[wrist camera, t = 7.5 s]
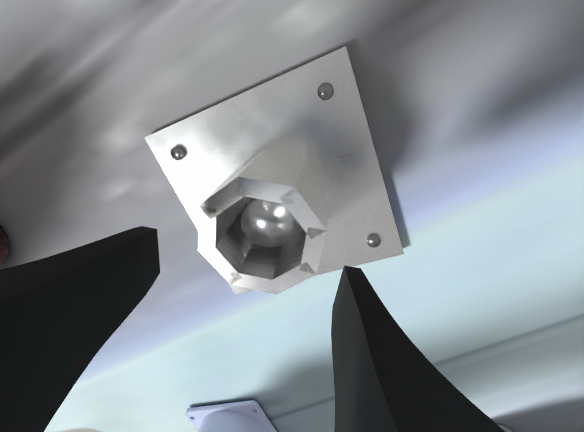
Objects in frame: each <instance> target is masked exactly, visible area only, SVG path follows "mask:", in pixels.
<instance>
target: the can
mask: <svg viewBox="0 0 584 432" xmlns="http://www.w3.org/2000/svg"><path fill="white" fill-rule="evenodd" d="M8 252H9V241H8V239H7V237H6V234H5V232H4V231H3V229H2V228H1V226H0V266H1V265H2V264H3V263H4V261H5V259H6V257H7V255H8Z"/></svg>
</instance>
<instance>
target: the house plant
mask: <svg viewBox="0 0 584 432" xmlns="http://www.w3.org/2000/svg"><path fill="white" fill-rule="evenodd" d="M497 425H498V426H499V427H501V428H502V429H503V430H504V431H505V432H512V431H511V430H510V429H509V428H507V427H505V426H503V425H499V424H497Z"/></svg>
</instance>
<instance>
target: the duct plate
mask: <svg viewBox="0 0 584 432" xmlns="http://www.w3.org/2000/svg"><path fill="white" fill-rule="evenodd" d="M144 138H145V139H146V141H147V143H148V145H149V146H150V148H151V150H152V152H153V153H154V155H155V157H156V158H157V160H158V162H159V164H160V165H161V167H162V169H163V171H164V172H165V174H166V176H167V177H168V179H169V181H170V183H171V184H172V186H173V188H174V189H175V191H176V193H177V195H178V196H179V198H180V200H181V202H182V203H183V205H184V207H185V208H186V210H187V212H188V214H189V215H190V217H191V219H192V221H193V222H194V224H195V226H196V227H197V229H198V205H199V204H201V203H202V202H203V201H204V200H205V199H206V198H207V197H208V196H209V195H210V194H211V193H212V192H213V191H214V190H215V189H216V188H217V187H218V186H219V185H220V184H222V183H223V182H224V181H225V180H226V179H227V178H228V177H229V176H230V175H231V174H232V173H233V172H234V171H235V170H237V169H238V168H240V167H241V166H242V165H244V164H245V163H246V162H248V161H249V160H250V159H252V158H253V157H254V156H256V155H257V154H258V153H260V152H261V151H262V150H264V149H267V150H273V151H278V152H284V153H289V154H295V155H300V156H305V157H306V158H307V160H308V161H309V162H310V164H311V165H312V167H313V168H314V170H315V171H316V172H317V174H318V175H319V177H320V178H321V179H322V181H323V182H324V184H325V185H326V187H327V188H328V214H327V232H326V237H325V241H324V245H323V249H322V253H321V258H320V262H319V266H318V270H317V274H316V275H319V274H323V273H327V272H331V271H335V270H340V269H343V268H344V265H345V266H350V267H352V266H356V265H360V264H364V263H368V262H373V261H377V260H381V259H385V258H389V257H393V256H397V255H402V254H404V252H403V248H402V245H401V241H400V238H399V234H398V230H397V227H396V223H395V220H394V216H393V213H392V209H391V205H390V202H389V198H388V195H387V191H386V188H385V184H384V180H383V177H382V173H381V170H380V166H379V163H378V159H377V155H376V152H375V148H374V145H373V141H372V137H371V134H370V130H369V127H368V123H367V120H366V116H365V112H364V109H363V105H362V102H361V98H360V95H359V91H358V87H357V84H356V80H355V77H354V73H353V70H352V66H351V62H350V59H349V55H348V52H347V48H346V46H345V47H342V48H340V49H338V50H336V51H334V52H331V53H329V54H327V55H325V56H323V57H320V58H318V59H316V60H314V61H312V62H309V63H307V64H305V65H303V66H301V67H298V68H296V69H294V70H292V71H290V72H287V73H285V74H283V75H281V76H279V77H276V78H274V79H272V80H270V81H268V82H265V83H263V84H261V85H259V86H257V87H254V88H252V89H250V90H248V91H246V92H243V93H241V94H239V95H237V96H235V97H232V98H230V99H228V100H226V101H224V102H221V103H219V104H217V105H215V106H213V107H210V108H208V109H206V110H204V111H202V112H199V113H197V114H195V115H193V116H191V117H188V118H186V119H184V120H182V121H180V122H177V123H175V124H173V125H171V126H169V127H166V128H164V129H162V130H160V131H158V132H155V133H153V134H151V135H149V136H147V137H144ZM245 206H246V208H245V209H244V211H243V212H242V215H241V227H242V230H243V232H244V234H245V235H246V236H247V238H248V239H249V240H251V241H252V242H254V243H255V244H257V245H260V246H263V247H275V246H279V245H281V244H283V243H284V242H286V241H287V240H288V238H289V237H290V235H291V233H292V230H293V226H294V225H296V224H298V222H297V220H296V219H295V218H294V216H293V215H292V214H291V213H290V211H289V210H288V209H287V207H286V206H285V205H284V204H282V203H277V202H272V201H267V200H261V199H256V198H251V197H246V196H245ZM314 276H315V275H314ZM230 286H231V288H232V289H233V291H234V293H235V295H236V294H240V293H244V292H248V291H253V290H254V289H249V288H244V287H239V286H234V285H230Z"/></svg>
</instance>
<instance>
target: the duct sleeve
mask: <svg viewBox="0 0 584 432" xmlns="http://www.w3.org/2000/svg"><path fill="white" fill-rule="evenodd" d="M245 196H246V197H251V198H256V199H261V200H267V201H272V202H277V203H282V204H284V205H285V206H286V207H287V209H288V210H289V211H290V213H291V214H292V215H293V216H294V218H295V219H296V220H297V222H298V224H296V225H294V226H293V230H292V233H291V235H290V237H289V238H288V240H287V241H286V242H284V243H283V244H281V245H279V246H275V247H263V246H260V245H257V244H255V243H254V242H252V241H251V240H249V239H248V238H247V236H246V235H245V234H244V232H243V230H242V227H241V215H242V212H243V211H244V209H245V208H246V206H245ZM327 214H328V188H327V187H326V185H325V184H324V182H323V181H322V179H321V178H320V177H319V175H318V174H317V172H316V171H315V170H314V168H313V167H312V165H311V164H310V162H309V161H308V160H307V158H306V157H305V156H300V155H295V154H289V153H284V152H278V151H273V150H267V149H264V150H262V151H261V152H260V153H258V154H257V155H256V156H254V157H253V158H252V159H250V160H249V161H248V162H246V163H245V164H244V165H242V166H241V167H240V168H238V169H237V170H235V171H234V172H233V173H232V174H231V175H230V176H229V177H228V178H227V179H226V180H225V181H224V182H223V183H222V184H220V185H219V186H218V187H217V188H216V189H215V190H214V191H213V192H212V193H211V194H210V195H209V196H208V197H207V198H206V199H205V200H204V201H203V202H202V203H201V204H199V205H198V251H199V252H200V253H201V254H202V255H203V256H204V257H205V258H206V259H207V260H208V261H209V262H210V263H211V264H212V266H213V267H214V268H215V269H216V270H217V271H218V272H219V273H220V274H221V275H222V276H223V277H224V278H225V279H226V280H227V281H228V283H229V284H230V285H234V286H239V287H244V288H249V289H254V290H259V291H264V292H268V293H273V294H278V293H280V292H282V291H284V290H286V289H288V288H290V287H292V286H294V285H296V284H298V283H300V282H302V281H304V280H306V279H308V278H310V277H312V276H314V275H316V274H317V270H318V266H319V262H320V258H321V253H322V249H323V245H324V241H325V237H326V232H327Z"/></svg>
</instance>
